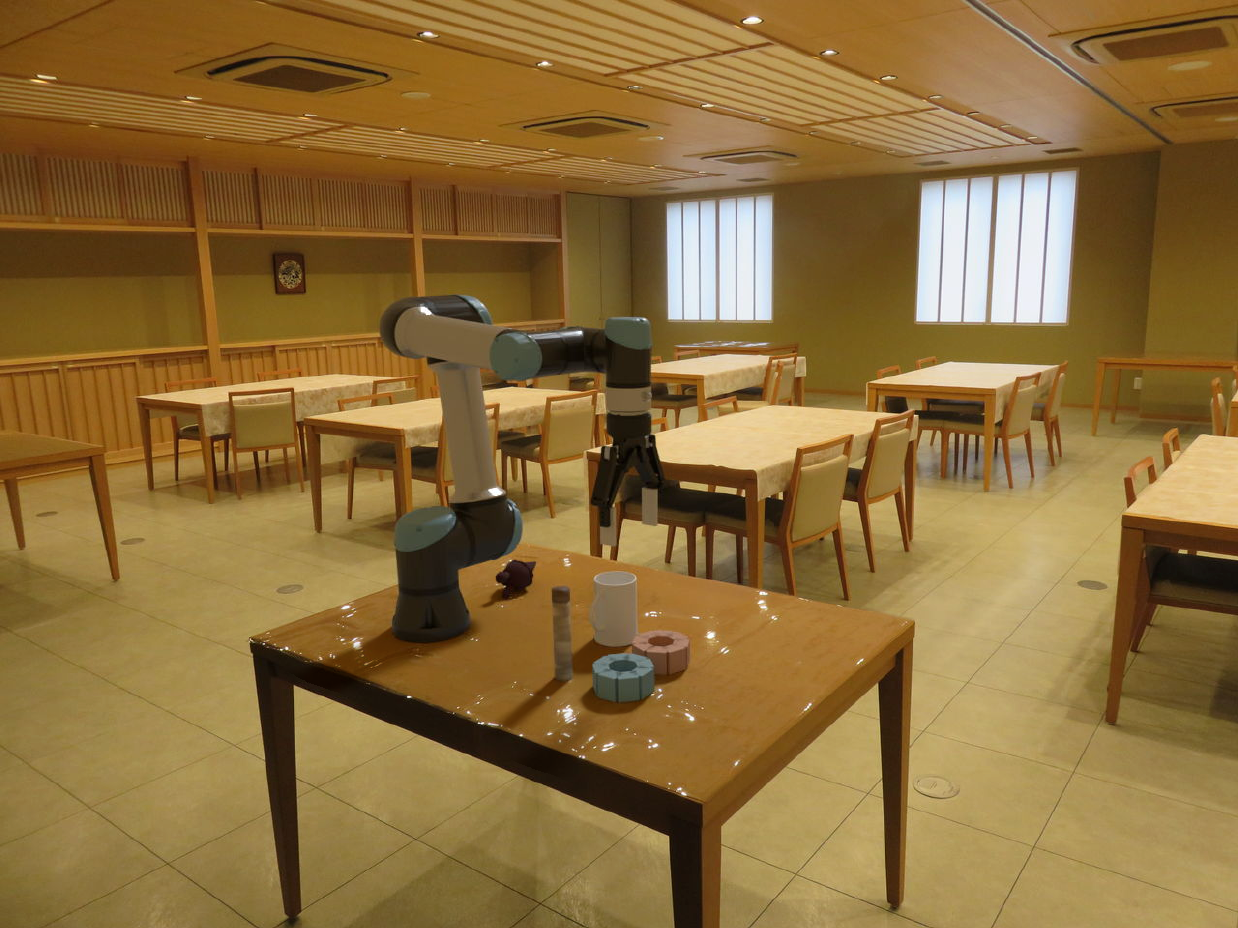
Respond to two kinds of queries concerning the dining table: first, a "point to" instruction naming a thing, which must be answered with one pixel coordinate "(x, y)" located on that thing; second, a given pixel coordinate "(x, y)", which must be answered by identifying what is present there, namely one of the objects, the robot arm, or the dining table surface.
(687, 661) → the bead terracotta
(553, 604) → the wooden dowel handle
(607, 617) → the mug
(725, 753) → the dining table surface
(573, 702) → the dining table surface
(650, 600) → the dining table surface
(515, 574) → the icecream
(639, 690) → the bead
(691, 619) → the dining table surface
